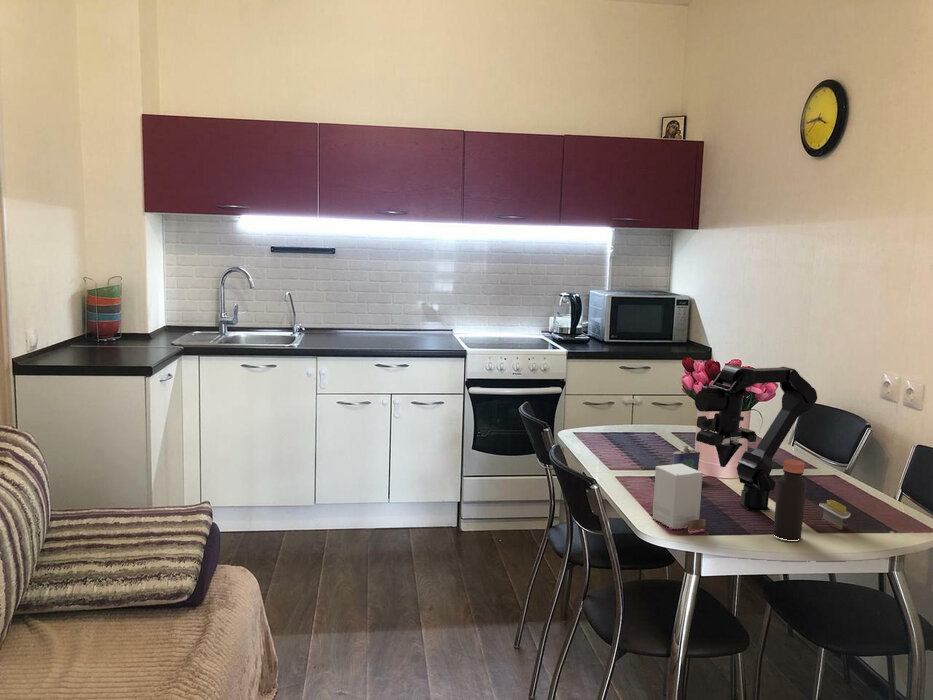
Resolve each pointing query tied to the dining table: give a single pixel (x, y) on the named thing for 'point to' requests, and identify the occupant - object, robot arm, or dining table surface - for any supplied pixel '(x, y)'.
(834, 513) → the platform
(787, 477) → the bottle
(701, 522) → the walnut slot
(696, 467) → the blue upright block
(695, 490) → the supplement box
